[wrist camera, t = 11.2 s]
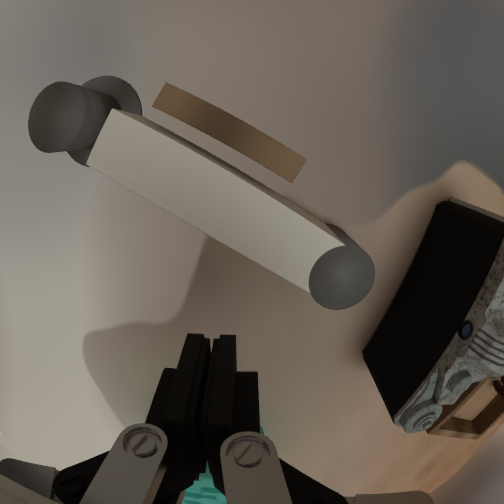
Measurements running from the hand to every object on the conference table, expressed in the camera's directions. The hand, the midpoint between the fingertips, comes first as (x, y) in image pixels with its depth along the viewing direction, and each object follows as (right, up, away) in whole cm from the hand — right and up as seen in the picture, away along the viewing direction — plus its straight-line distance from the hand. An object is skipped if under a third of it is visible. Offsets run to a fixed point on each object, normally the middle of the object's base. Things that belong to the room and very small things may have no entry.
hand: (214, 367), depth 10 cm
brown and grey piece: (-4, +10, +6) cm, 13 cm away
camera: (+15, +1, +10) cm, 18 cm away
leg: (+1, +7, +7) cm, 10 cm away
